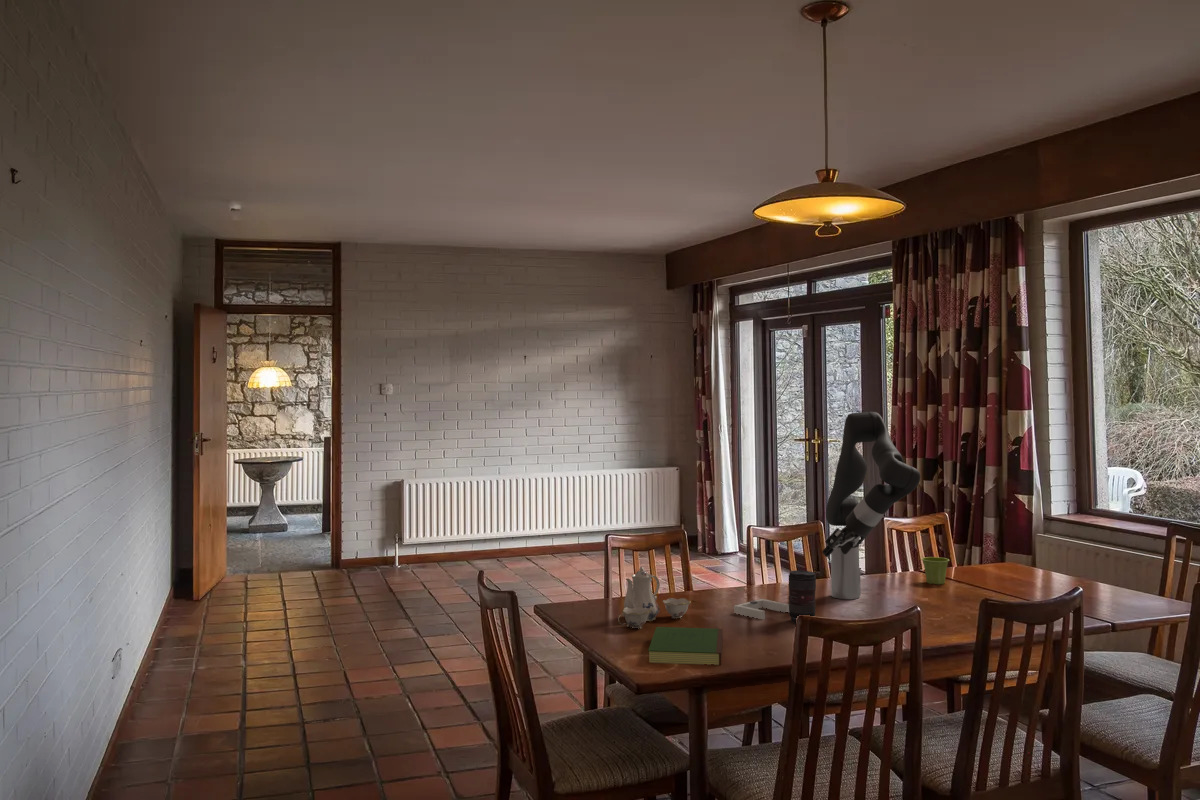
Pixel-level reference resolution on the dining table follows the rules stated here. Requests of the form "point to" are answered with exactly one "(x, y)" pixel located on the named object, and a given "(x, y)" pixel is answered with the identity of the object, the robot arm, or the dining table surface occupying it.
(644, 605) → the chinaware
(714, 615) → the dining table surface
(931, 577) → the plant pot
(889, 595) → the dining table surface
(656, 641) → the hardcover book
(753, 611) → the mount cradle
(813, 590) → the camera lens
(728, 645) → the dining table surface
